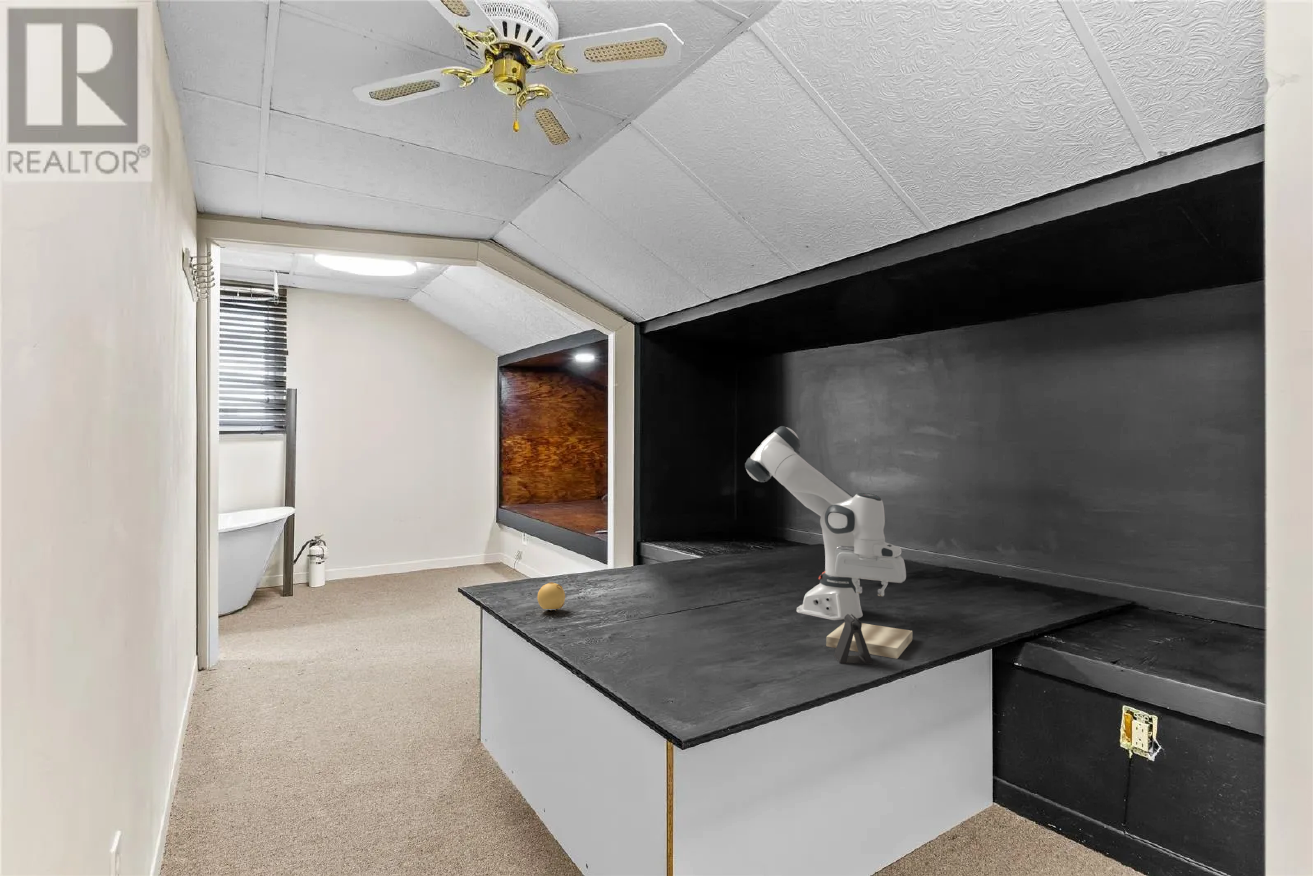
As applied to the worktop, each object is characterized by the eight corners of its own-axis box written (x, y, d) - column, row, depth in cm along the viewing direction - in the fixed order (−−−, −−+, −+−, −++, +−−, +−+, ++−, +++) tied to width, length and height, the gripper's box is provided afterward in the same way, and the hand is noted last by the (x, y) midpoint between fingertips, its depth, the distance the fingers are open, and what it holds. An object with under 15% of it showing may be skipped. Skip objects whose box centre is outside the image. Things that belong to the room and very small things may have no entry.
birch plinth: (826, 646, 190) (826, 636, 190) (846, 630, 207) (846, 620, 207) (897, 659, 179) (897, 648, 179) (912, 640, 196) (912, 630, 196)
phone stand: (865, 656, 181) (865, 614, 181) (872, 664, 175) (872, 619, 175) (833, 656, 181) (833, 613, 181) (839, 664, 175) (839, 619, 175)
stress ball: (562, 614, 225) (562, 585, 225) (534, 614, 225) (534, 585, 225) (567, 607, 235) (567, 579, 235) (540, 607, 235) (540, 579, 235)
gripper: (831, 546, 196) (832, 592, 196) (902, 552, 185) (902, 600, 185) (838, 543, 201) (838, 588, 201) (907, 549, 190) (907, 596, 190)
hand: (869, 594), depth 193 cm, fingers open, 5 cm apart
